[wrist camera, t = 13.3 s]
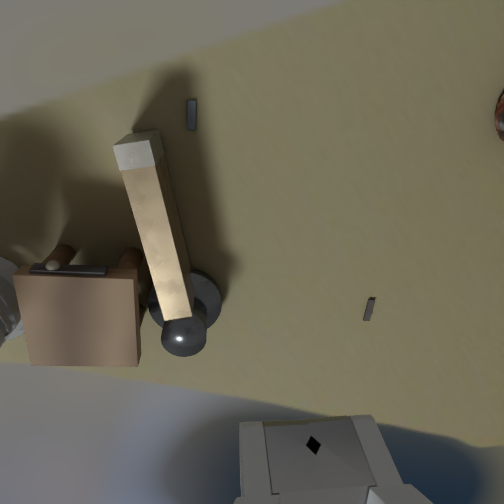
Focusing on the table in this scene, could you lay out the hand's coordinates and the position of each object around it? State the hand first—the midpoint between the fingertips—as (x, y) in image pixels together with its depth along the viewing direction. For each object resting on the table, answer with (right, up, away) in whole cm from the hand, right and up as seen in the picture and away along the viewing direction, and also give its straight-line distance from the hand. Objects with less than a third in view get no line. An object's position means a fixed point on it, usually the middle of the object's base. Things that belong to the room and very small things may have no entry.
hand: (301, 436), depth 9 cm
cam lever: (-8, +5, +23) cm, 25 cm away
